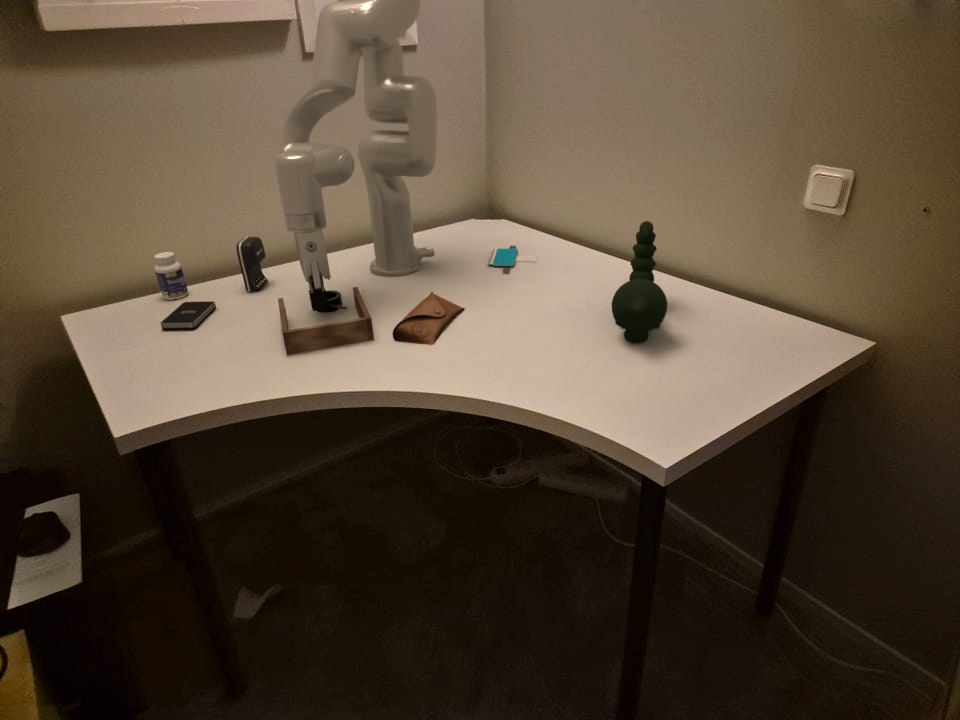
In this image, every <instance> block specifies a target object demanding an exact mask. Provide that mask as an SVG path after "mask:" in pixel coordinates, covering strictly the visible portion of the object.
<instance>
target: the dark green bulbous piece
mask: <svg viewBox="0 0 960 720" xmlns="http://www.w3.org/2000/svg"><path fill="white" fill-rule="evenodd" d="M656 237H657V235H656V233H655V232H654V224H653V222H651V221H649V220H645V221H642V222H641V223H640V225H639V230H638V231H637V232H636V233H635V239H636V243H635V244H634V245H633V246H632V250H633V254H634V256H635V257H633V259H632V260H631V261H630V266H631V268H632V271H631V272H630V274H629V278H628V280H629V281H626V282H625V283H623V284H622V285H620V286H619V287H618V288H617V290H616V292H615V293H614V295H613V296H612V300H611V312H612V317H613V319H614V322H615V325H616V326H618V327H621V328H622V329H623V330H624V331H623V338H624V340H625V341H626V342H628V343H630V344H632V343H633V344H644V343H646V342H647V341H648V340H649V337H650V331H654V330H657V329H659V328H660V327H661V324H662V323H663V321H664V319H665V317H666V314H667V312H668V299H667V296H666V293H665V292H664V290H663V289H662V288H661V286H659V285H658V284H657V283H655V275H654V273H653V271H654V268H656V266H657V263H656V261H655V259H654V258H653V257H654V255H655V252H656V251H657V249H658V248H657V246H656V245H655V244H654V243H655V240H656Z"/></svg>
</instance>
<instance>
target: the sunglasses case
mask: <svg viewBox="0 0 960 720" xmlns="http://www.w3.org/2000/svg"><path fill="white" fill-rule="evenodd" d="M465 309H466V308H465V307H463V306H460V305H458V304H455V303H454V302H452V301H449V300H447V299H445V298H444V297H442V296H439V295H437V294H436V293H434V291H431V292H430V293H429V294H428V296H427V297H425V298H424V299H422V300H421V302H420V303H418V304H417V305H415V307H414V308H413V309H411V311H409V312H408V314H406V315H405V316H404V317H403V318H402V320H400V321H399V322H398V323H397V324H396V325H395V327H394V328H393V329H392V338H393V340H394V341H395V342H398V343H399V342H400V343H408V344H409V343H410V344H418V345H428V346H429V345H430V346H433V345H435V344H436V342H437V340H438V338H439V337H440V335H441V334H442V333H443V332H444V331H445V330H446V329H447V327H449V326H450V324H451V323H452V322H453V321H454V320H455V319H456V318H457V317H458V316H459V315H460V314H461V313H462V312H464V311H465Z"/></svg>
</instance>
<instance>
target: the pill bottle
mask: <svg viewBox="0 0 960 720" xmlns="http://www.w3.org/2000/svg"><path fill="white" fill-rule="evenodd" d="M154 260H155V263H156V265H155V266H154V273H155V276H156V279H157V283H158V286H159V288H160V292H161V296H162V298H163V300H166V301H175V300H174V299H177V300H181V299H183V298H185V297H187V296H188V295H189V290H188V286H187V282H186V279H185V278H186V277H185V274H184V271H183V268H182V265H181V263H180V262H179V261H176V255H175V253H174V251H173V252H171V251H165V252H160V253H157V254H155V255H154ZM186 295H187V296H186ZM182 297H183V298H182ZM180 298H181V299H180Z"/></svg>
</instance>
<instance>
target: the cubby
mask: <svg viewBox="0 0 960 720" xmlns="http://www.w3.org/2000/svg"><path fill="white" fill-rule="evenodd" d="M352 293H353V299H354V306H355V310H356V312H357V315H358V318H353V319H346V320H341V321H334V322H328V323H322V324H317V325H316V324H315V325H310V326H304V327H298V328H291V329H290V328H289V323H288V316H287V312H286V307H285V302H284V301H285V300H284V298H283V297H280V298H277V303H278V310H279V318H280V319H279V320H280V326H281V334H282V338H283V344H284V349H285V354H286V356H291V355H298V354H304V353H310V352H315V351H321V350H325V349H326V350H327V349H332V348H336V347H337V348H338V347H342V346H343V347H344V346H348V345H350V346H351V345H355V344H361V343H366V342H372V341H375V336H374V335H375V334H374V326H373V321H372V316H371V314H370V311H369V308H368V307H367V305H366V302H365V300H364V298H363V296H362V294H361V292H360V289H359V286H353V287H352Z"/></svg>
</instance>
